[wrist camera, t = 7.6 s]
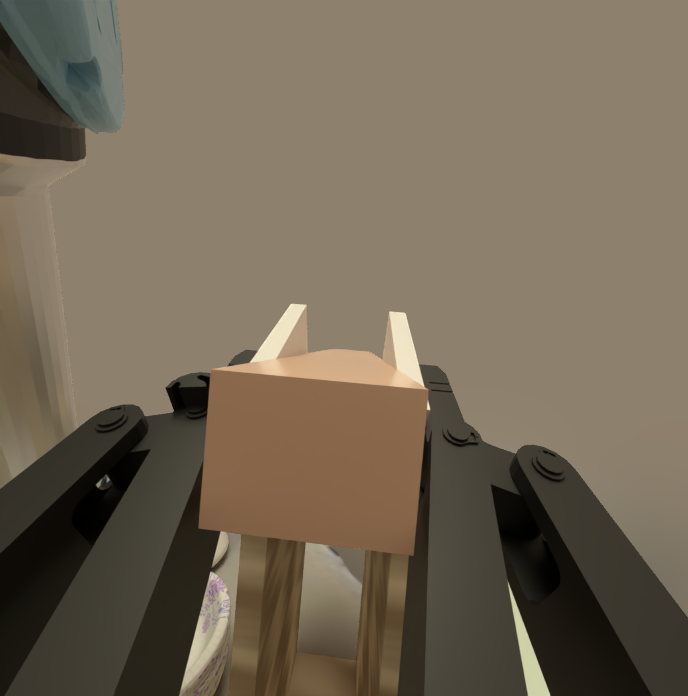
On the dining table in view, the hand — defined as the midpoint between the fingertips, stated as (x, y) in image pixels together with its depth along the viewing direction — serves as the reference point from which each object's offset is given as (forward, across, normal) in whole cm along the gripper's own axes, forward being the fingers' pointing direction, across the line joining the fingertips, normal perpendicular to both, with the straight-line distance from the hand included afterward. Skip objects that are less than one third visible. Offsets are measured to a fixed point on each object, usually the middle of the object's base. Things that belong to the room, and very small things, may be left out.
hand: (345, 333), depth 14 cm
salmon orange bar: (+2, 0, -6) cm, 6 cm away
